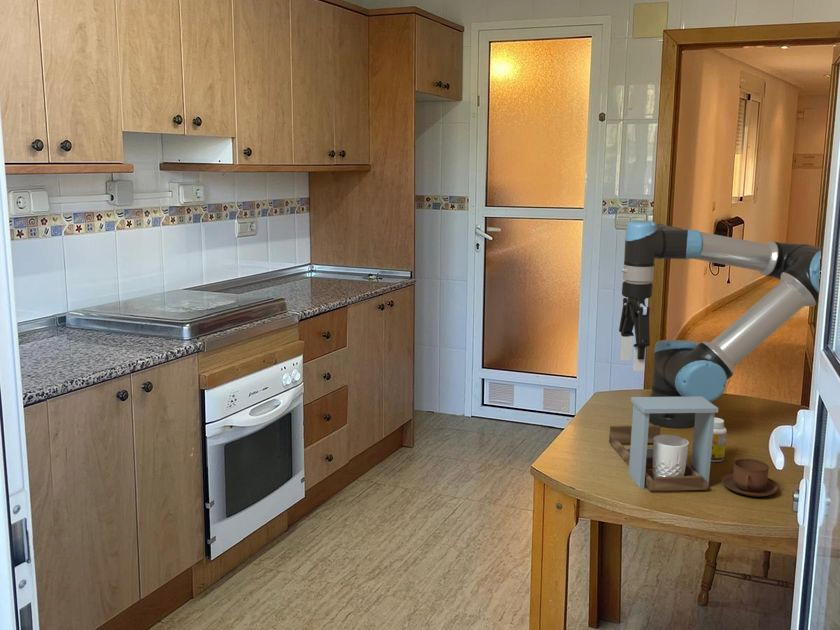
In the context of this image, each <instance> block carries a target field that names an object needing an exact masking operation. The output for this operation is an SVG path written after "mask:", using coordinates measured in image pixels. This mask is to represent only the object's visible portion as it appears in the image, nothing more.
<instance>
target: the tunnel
mask: <svg viewBox="0 0 840 630" xmlns="http://www.w3.org/2000/svg"><path fill="white" fill-rule="evenodd" d="M630 402H631V403H632V419H631V426H632V432H631V443H630V448H629V449H630V461H629V464H628V476H629V477H630V479H631V480H632V481H633V482H634V483H635V484H636V486H637V487H638V488H639V489H640V490H641V489H643V490H644V489H645V471H646V470H647V469H646V455H647V449H648V443H647V442H648V428H649V425H650V422H649V414H650V413H695V424H694V426H693V436H692V437H693V438H692V449H691V462H690V465H691V466H692V467H693V468H694V469H695V470H696V471H697V472H698V473H699V474H700V475H701V476H702V477H703V478H704V479H705V480H706V481H707V482H708V484H707V488H709V486H710V485H709V484H710V472H711V451H712V440H713V429H714V417H715V414H718V413H719V407H718V406H717V405H715V404H713V403H712V402H709V401H708V400H706V399H705V398H704V397H702V396H696V397H650V396H631V397H630ZM715 418H716V417H715Z"/></svg>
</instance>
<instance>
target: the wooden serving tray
mask: <svg viewBox="0 0 840 630" xmlns="http://www.w3.org/2000/svg"><path fill="white" fill-rule="evenodd" d="M661 427H662V426H659V425H656V424H653V425H652V424H651V425H650V424H649V428H648V442H647V444H648V443H649V444H651V443H652V444H653V438H654V437H655V436H657V435H661V429H662V428H661ZM631 432H632V425H610V426H609V440H608V442H609V443H610V445H611V446H612V447H613V449H615V450H616V452H617V453H618V454H619V455H620V457H621V458H623V460H624V461H625V462H626V463H627V465H629V461H630V453H629V452H628V451H627V450H626V447H625V446H624V445H623V444H631ZM646 470H653V456H646V469H645V483H644V485H645V486H646V487H647V488H648V489H649V490H650V491H685V490H686V491H687V490H688V491H690V490H691V491H692V490H693V491H694V490H699V491H700V490H701V491H702V490H703V491H704V490H707V489H708V487H707V484H708V482H707V481H706V480H705V479H704V478H703V477H702V476H701V475H700V474H699V473H698V472H697V471H696V470H695V469H694V468H693V467H692V466H691V463H689V462H688V461H686V467H685V474H686V475H684V476H654V480H653V477H651V476H650V475H649V473H648V472H647V471H646Z"/></svg>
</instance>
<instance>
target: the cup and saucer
mask: <svg viewBox="0 0 840 630" xmlns="http://www.w3.org/2000/svg"><path fill="white" fill-rule="evenodd" d="M769 469H770V467H769V465H768V464H767V463H765V462H763V461H761V460H757V459H752V458H738V459H735V460H734V462H733V471H731V472H728V473H725V474H723V475H722V476H721V483H722V484H723V486H725V487H726V488H727V489H728V490H729V491H732V492H734V493H737V494H739V495H743V496H749V497H767V496H771V495H773V494H775V493H776V492H778V490H779V485H778V483H777V482H776V481H774V480H773V479H771V478H769V477H768V476H769V471H770V470H769Z"/></svg>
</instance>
